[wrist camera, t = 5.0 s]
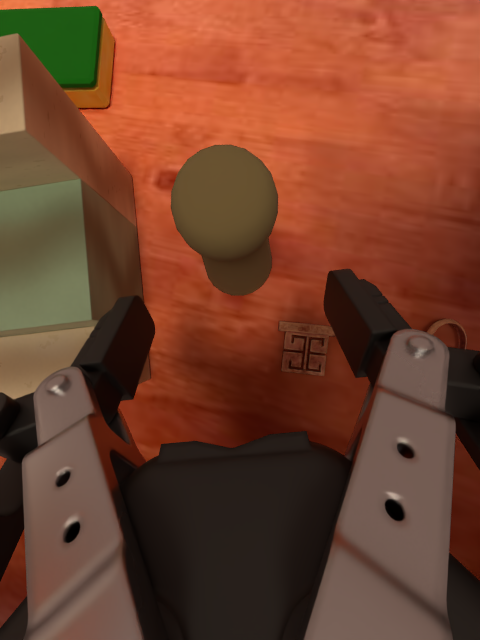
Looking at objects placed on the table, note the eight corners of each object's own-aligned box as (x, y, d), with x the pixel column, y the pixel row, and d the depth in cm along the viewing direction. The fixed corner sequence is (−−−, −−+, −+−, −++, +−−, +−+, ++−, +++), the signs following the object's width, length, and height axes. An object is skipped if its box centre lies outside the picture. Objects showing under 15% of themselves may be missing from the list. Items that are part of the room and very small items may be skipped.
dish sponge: (110, 109, 22) (92, 82, 20) (-23, 110, 23) (-55, 84, 21) (115, 39, 22) (99, 3, 20) (-16, 42, 23) (-47, 9, 21)
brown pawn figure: (193, 276, 21) (125, 217, 10) (224, 218, 21) (191, 94, 10) (252, 307, 20) (249, 281, 9) (284, 247, 20) (318, 152, 9)
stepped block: (151, 378, 21) (44, 428, 10) (36, 390, 21) (-175, 448, 11) (132, 176, 22) (17, 31, 11) (23, 193, 22) (-183, 72, 12)
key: (273, 368, 20) (454, 389, 19) (274, 371, 19) (464, 393, 18) (280, 302, 20) (464, 320, 19) (282, 302, 19) (474, 320, 18)
